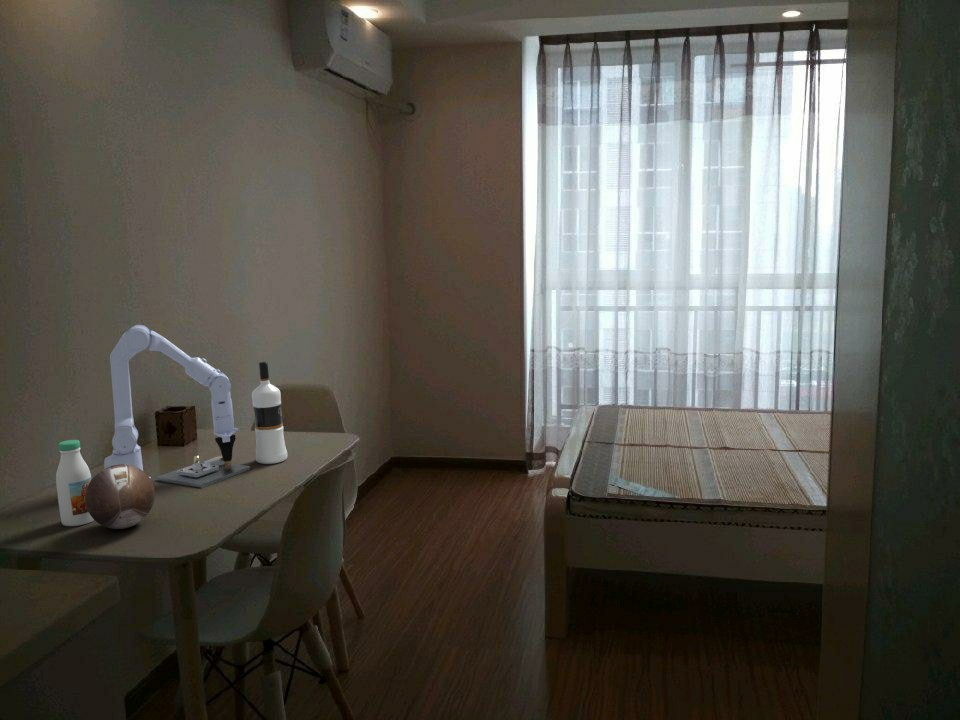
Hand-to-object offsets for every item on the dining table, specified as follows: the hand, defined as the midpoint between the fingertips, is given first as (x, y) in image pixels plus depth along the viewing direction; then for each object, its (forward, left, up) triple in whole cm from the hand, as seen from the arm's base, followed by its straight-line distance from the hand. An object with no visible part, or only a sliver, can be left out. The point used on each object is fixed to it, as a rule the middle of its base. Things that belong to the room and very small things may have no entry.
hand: (227, 460), depth 238 cm
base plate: (-8, +2, -2) cm, 8 cm away
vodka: (+11, -7, -3) cm, 13 cm away
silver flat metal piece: (-5, +2, -1) cm, 6 cm away
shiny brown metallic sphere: (-45, -13, -3) cm, 47 cm away
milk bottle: (-47, +1, -3) cm, 47 cm away
